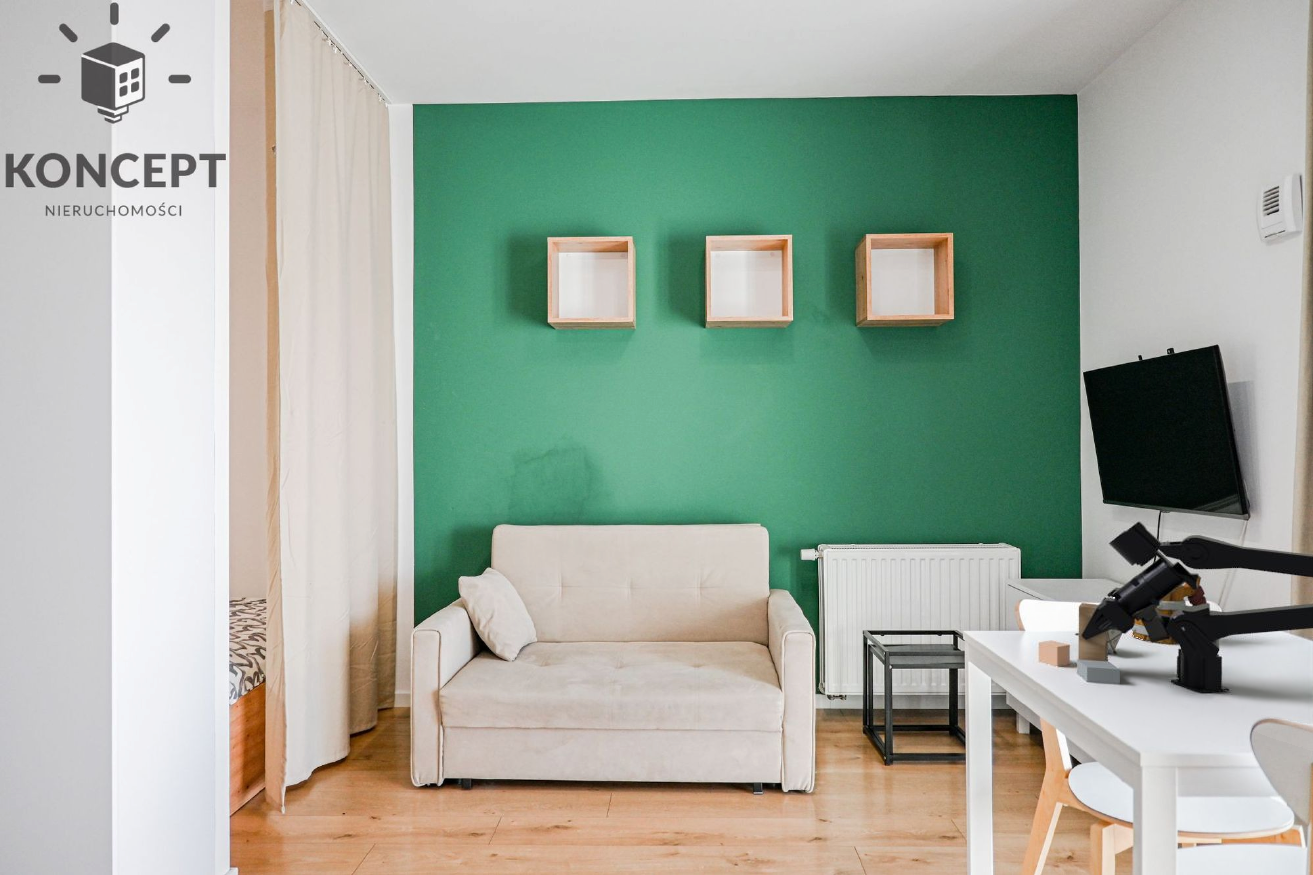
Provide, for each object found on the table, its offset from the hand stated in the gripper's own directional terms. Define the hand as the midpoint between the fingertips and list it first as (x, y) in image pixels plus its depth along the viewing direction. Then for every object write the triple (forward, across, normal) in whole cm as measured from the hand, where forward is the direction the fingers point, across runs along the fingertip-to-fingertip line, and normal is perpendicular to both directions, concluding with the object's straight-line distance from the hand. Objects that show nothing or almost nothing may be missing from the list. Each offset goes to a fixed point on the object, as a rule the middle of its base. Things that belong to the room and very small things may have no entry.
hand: (1085, 635), depth 153 cm
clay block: (+9, +1, -1) cm, 9 cm away
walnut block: (+4, 0, -6) cm, 7 cm away
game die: (+4, +18, -5) cm, 19 cm away
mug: (-4, +42, -13) cm, 44 cm away
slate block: (+3, -6, -7) cm, 9 cm away
